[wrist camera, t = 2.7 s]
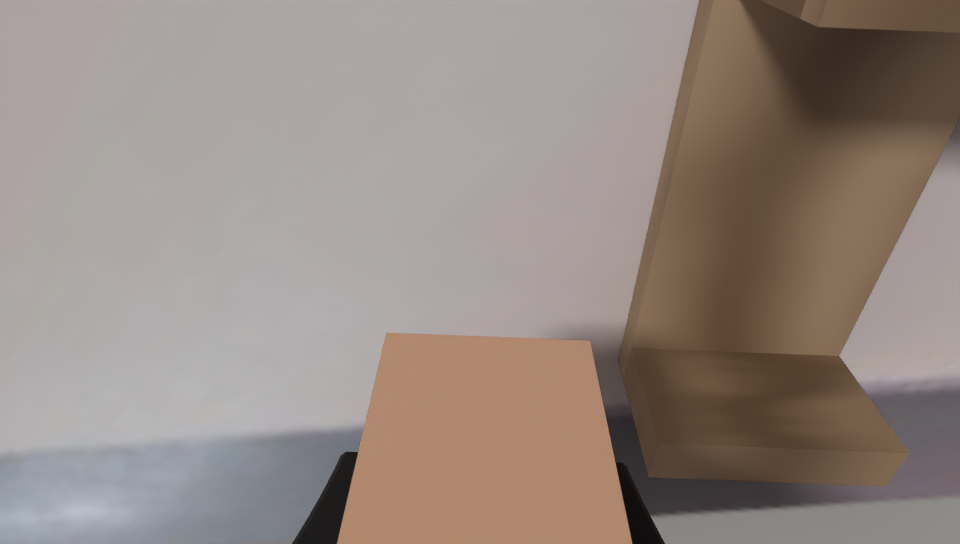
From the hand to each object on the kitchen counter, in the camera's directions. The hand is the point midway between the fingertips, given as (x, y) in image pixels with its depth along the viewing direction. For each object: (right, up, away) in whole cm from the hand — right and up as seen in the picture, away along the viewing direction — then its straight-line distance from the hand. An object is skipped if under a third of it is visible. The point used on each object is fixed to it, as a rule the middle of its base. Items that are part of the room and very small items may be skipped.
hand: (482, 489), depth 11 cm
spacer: (0, +1, +1) cm, 2 cm away
